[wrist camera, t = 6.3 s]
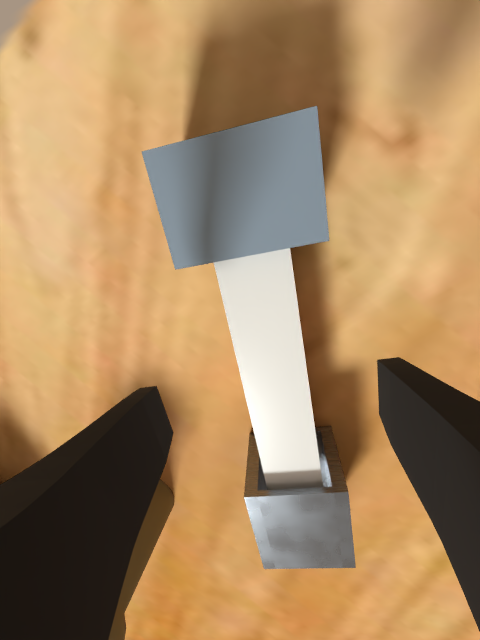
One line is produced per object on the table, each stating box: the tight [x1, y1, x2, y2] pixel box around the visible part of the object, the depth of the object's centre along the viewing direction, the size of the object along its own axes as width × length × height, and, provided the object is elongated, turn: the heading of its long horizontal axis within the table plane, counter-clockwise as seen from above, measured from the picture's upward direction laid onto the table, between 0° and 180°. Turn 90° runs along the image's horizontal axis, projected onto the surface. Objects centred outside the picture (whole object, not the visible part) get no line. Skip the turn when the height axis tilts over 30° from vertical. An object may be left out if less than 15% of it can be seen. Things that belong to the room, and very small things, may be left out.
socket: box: [142, 106, 329, 270], centre depth 14 cm, size 6×4×5 cm
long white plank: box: [214, 248, 323, 490], centre depth 17 cm, size 4×19×4 cm, turn 12°
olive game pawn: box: [109, 480, 174, 640], centre depth 21 cm, size 6×6×11 cm
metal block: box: [244, 426, 356, 569], centre depth 21 cm, size 6×7×5 cm
